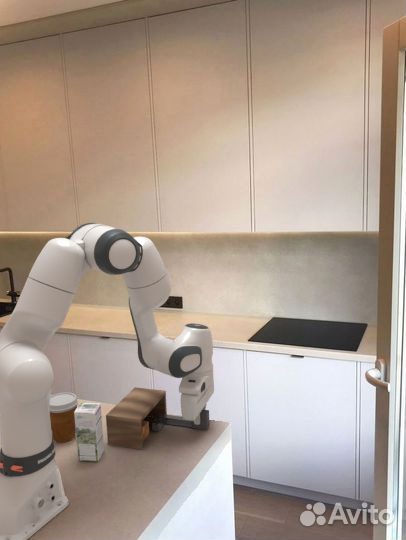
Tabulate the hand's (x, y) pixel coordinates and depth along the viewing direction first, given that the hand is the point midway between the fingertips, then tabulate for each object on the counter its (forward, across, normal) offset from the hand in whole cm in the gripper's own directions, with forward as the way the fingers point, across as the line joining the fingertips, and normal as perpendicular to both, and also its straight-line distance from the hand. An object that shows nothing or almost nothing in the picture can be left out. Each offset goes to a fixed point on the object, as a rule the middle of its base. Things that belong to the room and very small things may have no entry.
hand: (199, 420), depth 146 cm
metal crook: (+2, +2, -5) cm, 6 cm away
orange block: (+2, +9, -15) cm, 18 cm away
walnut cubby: (+2, +6, -17) cm, 18 cm away
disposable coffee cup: (+3, +16, -37) cm, 40 cm away
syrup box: (+3, +22, -24) cm, 33 cm away
